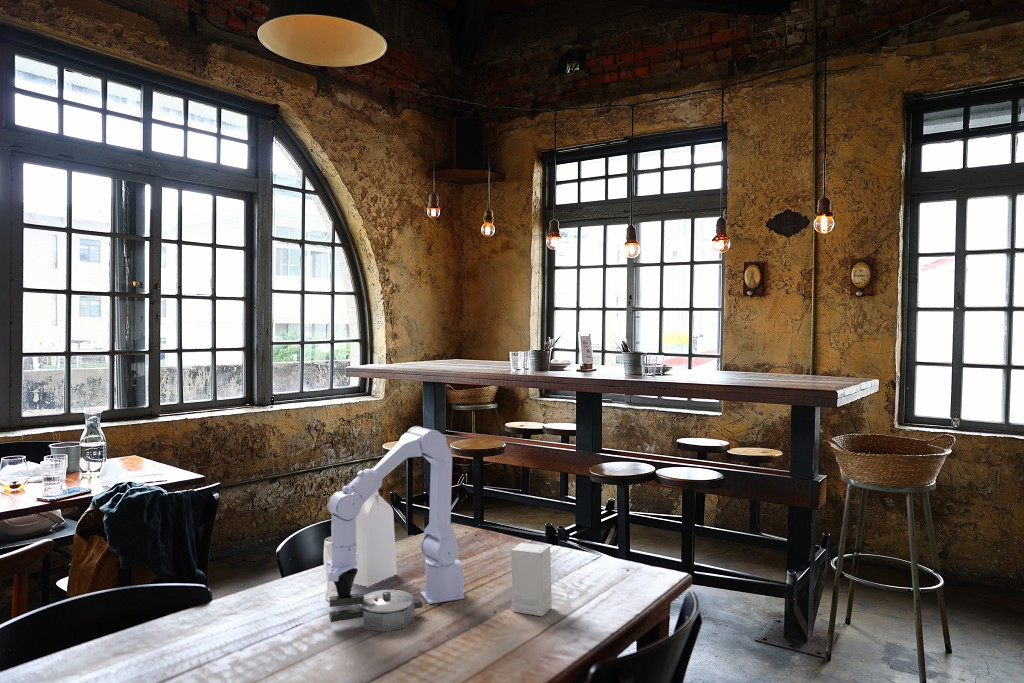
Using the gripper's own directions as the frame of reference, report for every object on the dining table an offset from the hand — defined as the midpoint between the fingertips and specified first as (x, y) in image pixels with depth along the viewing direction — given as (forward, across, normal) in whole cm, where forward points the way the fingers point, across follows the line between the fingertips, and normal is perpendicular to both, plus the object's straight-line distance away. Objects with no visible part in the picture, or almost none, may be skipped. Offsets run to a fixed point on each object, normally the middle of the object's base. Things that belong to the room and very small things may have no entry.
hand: (344, 601), depth 167 cm
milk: (+5, -29, -4) cm, 30 cm away
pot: (+5, 0, +8) cm, 9 cm away
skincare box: (+5, -12, +43) cm, 45 cm away
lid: (0, 0, +7) cm, 7 cm away
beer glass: (+5, -14, -7) cm, 16 cm away
